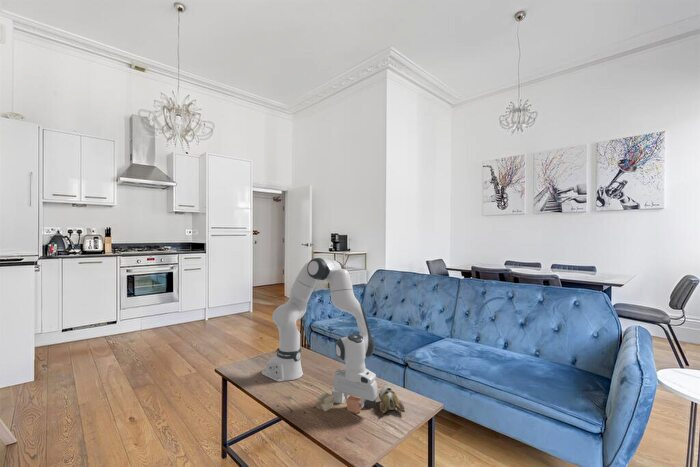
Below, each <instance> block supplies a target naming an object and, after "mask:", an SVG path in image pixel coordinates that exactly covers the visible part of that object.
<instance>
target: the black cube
mask: <svg viewBox="0 0 700 467" xmlns="http://www.w3.org/2000/svg"><path fill="white" fill-rule="evenodd" d="M376 399H377V398H376ZM376 399H375V400H374V401H370V400H367V399H366V400H365V402H364V407H365V408H376V405H377V404H376ZM364 407H363V408H364Z"/></svg>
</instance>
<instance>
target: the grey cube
mask: <svg viewBox="0 0 700 467" xmlns="http://www.w3.org/2000/svg"><path fill="white" fill-rule="evenodd" d="M331 395H333V404H335V403H336V404H343V403H344V401H345V400H346V399H345V397H344V393H341V392H338V391H335V390H334V388H332V390H331Z"/></svg>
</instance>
